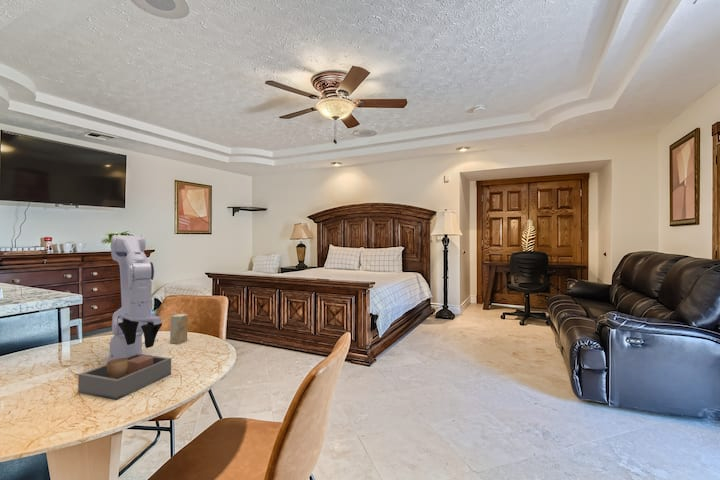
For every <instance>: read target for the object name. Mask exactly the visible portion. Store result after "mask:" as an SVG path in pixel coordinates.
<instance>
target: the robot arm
mask: <svg viewBox="0 0 720 480" xmlns="http://www.w3.org/2000/svg"><path fill="white" fill-rule="evenodd" d="M145 250H146V238H145V236H144V235H142V234H141V235H126V234H125V235H118V234H117V235H116V234H113V235H112V236H111V238H110V251H111V253H110V254H111V255H110V256H111V258H112V260H113V261H115V262H117V263H118V266H119V274H120V277H119V278H120V295H121V296H120V299H121V300H120V301H121V307H120V308H118V309H117V310H116V311H114V313H113V314H112V317H111V319H112V320H111V332H112V335H113V336H112V337H111V339H110V341H109V359H108V360H106V363H107V362H108V361H110V360H113V359H117V358H126V357H128V356H131V355H134V354H143V353H142V352H143V351H142V350H143V345H142V337H143V336H144V338H145V344H144V346H145V348H146V349H148V348H152V347H154V344H155V342H156V341H155V338H157V334H158V333H159V331H160V329H161V327H162V326H163V323H162V317H161V316H157V315H155V314H154V312H152V288H153V287H152V285H153V284H152V283H153V280H154V278H155V265H154V262H153V261H149V260H148V257H147V254H145ZM154 341H155V342H154Z"/></svg>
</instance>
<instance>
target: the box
mask: <svg viewBox="0 0 720 480" xmlns="http://www.w3.org/2000/svg"><path fill="white" fill-rule="evenodd" d="M188 318H189V314H187V313H178V314H174V315H170V329H169V330H170V332H169V334H170V336H169V338H170V339H169V343H170V344H176V345H180V344H183V343H185V342H187V341H188V321H189V320H188Z"/></svg>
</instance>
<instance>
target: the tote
mask: <svg viewBox="0 0 720 480" xmlns="http://www.w3.org/2000/svg"><path fill="white" fill-rule="evenodd" d="M139 356H147V357H153V365H151V366H148V367H146V368H144V369H141V370H139V371H136V372H134V373H131V374H129V375H127V376H124V377H122V378H119V379H113V378H108V377H107V363H106V364H104V365H101V366H98V367H95V368H93V369H90V370H89V369H88V370H87V371H83V372H81V373H78V376H77V377H78V381H77V382H78V383H77V385H78V387H77V391H78V393H81V394H85V395H90V396H95V397H100V398H106V399H112V400H117V401H118V400H120V399H121V398H123V397H126V396H127V395H130V394H132V393H134V392H136V391H139V390H140V389H142V388H145V387H147V386H149V385H151V384H154V383H156V382H157V381H160V380H162V379H164V378H166V377H168V376H170V375H172V358H171V357H164V356H157V355H152V354H151V355H150V354H143V353H142V354H134V355H131V356H128V357H126V358H127V359H128V360H130V359H133V358H136V357H139Z"/></svg>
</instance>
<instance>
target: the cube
mask: <svg viewBox="0 0 720 480" xmlns="http://www.w3.org/2000/svg"><path fill="white" fill-rule="evenodd" d="M151 365H153V357H147V356H139V357H136V358H133V359H130V360H128V375H129V374H131V373H134V372H136V371H139V370H141V369H144V368H146V367H148V366H151Z"/></svg>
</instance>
